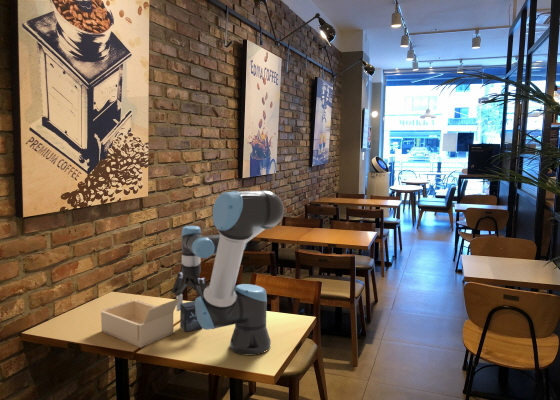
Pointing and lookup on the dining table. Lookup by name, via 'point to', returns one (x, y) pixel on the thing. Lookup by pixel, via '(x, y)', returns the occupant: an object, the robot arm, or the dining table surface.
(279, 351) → the dining table surface
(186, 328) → the box
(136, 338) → the carton
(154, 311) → the flap
